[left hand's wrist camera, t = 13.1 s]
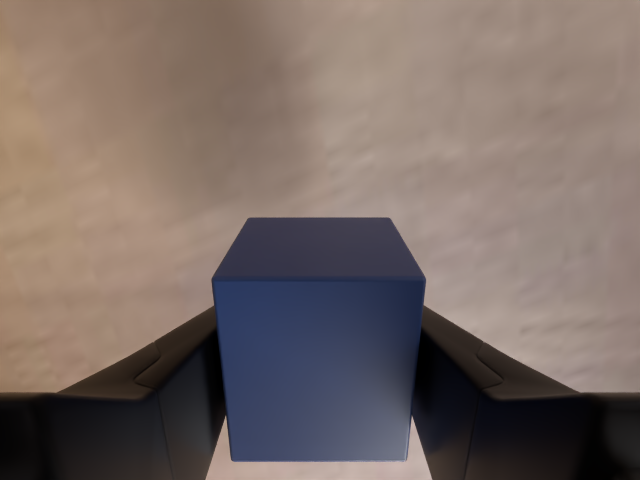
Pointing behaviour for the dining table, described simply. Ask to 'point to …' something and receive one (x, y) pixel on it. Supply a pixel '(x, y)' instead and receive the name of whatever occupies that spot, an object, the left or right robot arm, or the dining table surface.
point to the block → (318, 340)
